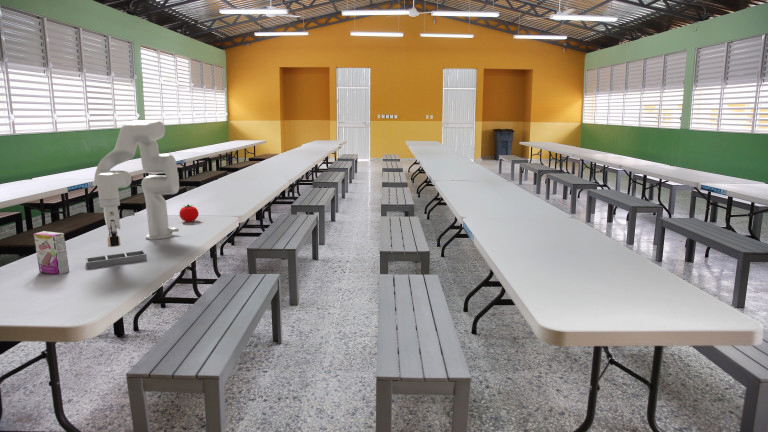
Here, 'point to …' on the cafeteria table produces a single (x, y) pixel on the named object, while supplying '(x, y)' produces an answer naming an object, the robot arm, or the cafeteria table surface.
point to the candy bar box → (51, 252)
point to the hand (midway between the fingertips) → (114, 244)
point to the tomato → (188, 213)
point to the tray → (115, 259)
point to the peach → (110, 244)
